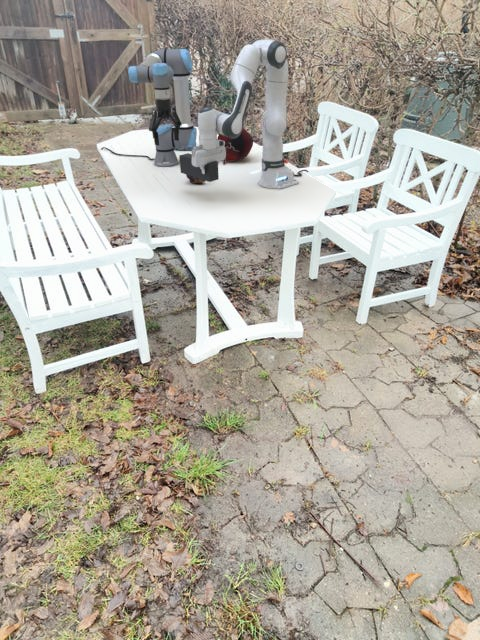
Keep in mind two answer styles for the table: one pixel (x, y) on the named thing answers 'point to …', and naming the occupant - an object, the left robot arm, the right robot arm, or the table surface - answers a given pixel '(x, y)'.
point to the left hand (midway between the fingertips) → (167, 142)
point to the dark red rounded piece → (237, 146)
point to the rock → (195, 179)
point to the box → (198, 168)
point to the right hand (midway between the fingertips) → (209, 172)
